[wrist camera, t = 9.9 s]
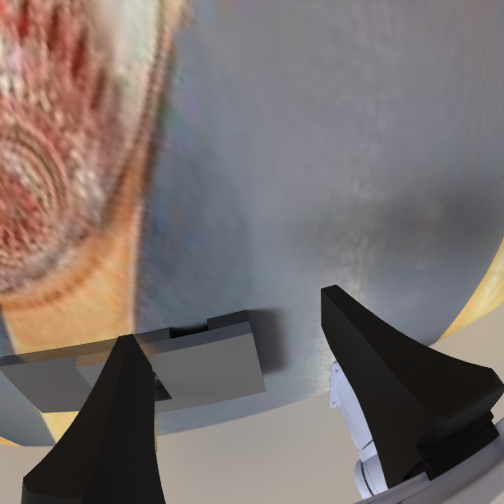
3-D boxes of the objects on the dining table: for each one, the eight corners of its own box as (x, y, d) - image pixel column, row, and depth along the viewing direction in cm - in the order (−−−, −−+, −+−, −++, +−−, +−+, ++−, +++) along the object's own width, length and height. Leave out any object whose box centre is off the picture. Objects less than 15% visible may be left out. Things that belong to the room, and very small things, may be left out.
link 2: (260, 370, 28) (265, 391, 26) (120, 397, 27) (119, 417, 25) (246, 310, 24) (252, 332, 22) (80, 345, 23) (75, 367, 21)
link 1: (197, 384, 28) (198, 394, 27) (44, 404, 27) (42, 412, 26) (169, 327, 24) (169, 339, 23) (0, 357, 22) (-3, 366, 21)
